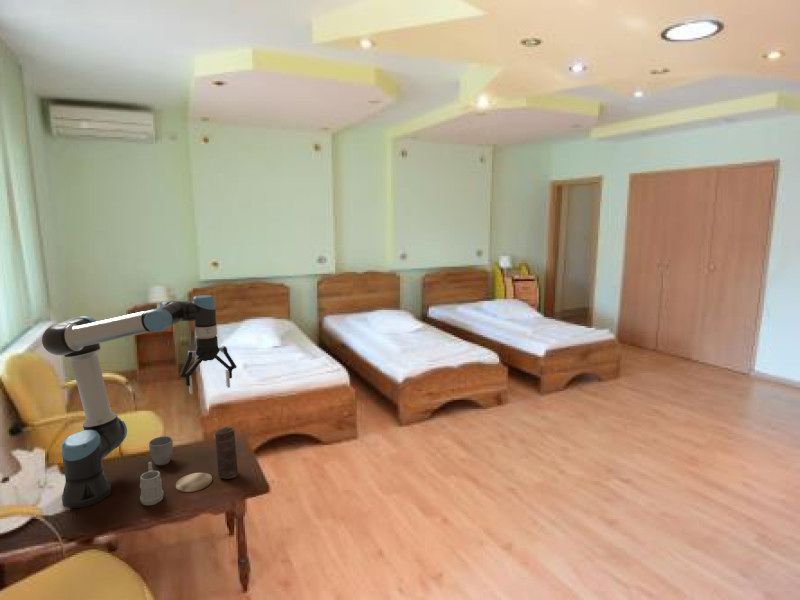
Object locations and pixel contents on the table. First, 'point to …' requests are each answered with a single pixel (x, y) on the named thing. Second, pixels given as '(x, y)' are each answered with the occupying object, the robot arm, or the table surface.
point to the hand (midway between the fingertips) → (210, 389)
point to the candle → (226, 453)
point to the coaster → (193, 482)
